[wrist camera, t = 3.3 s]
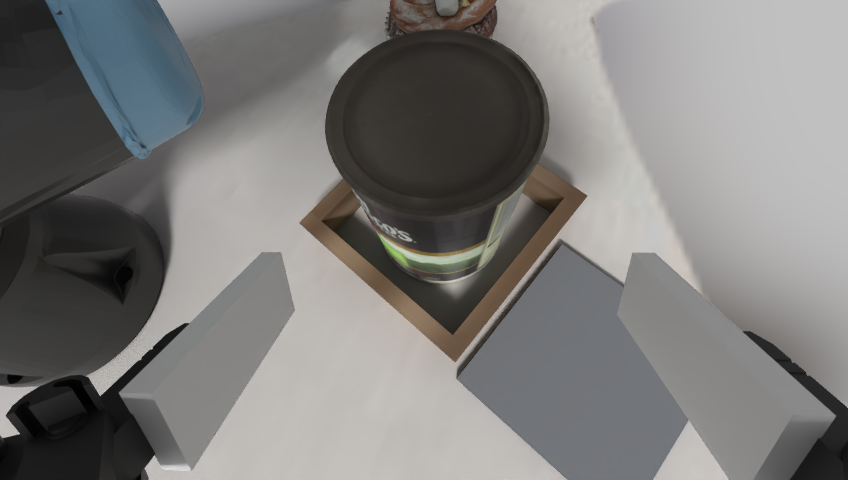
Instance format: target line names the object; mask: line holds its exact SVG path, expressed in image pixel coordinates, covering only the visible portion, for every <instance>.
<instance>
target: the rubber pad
mask: <svg viewBox="0 0 848 480" xmlns="http://www.w3.org/2000/svg"><path fill="white" fill-rule="evenodd" d="M623 289H624V287H622V286H621V285H620V284H618V283H617V282H615V281H614V280H613V279H611V278H610V277H608V276H607V275H605V274H604V273H603V272H601V271H600V270H598V269H597V268H596V267H594V266H593V265H591V264H590V263H588V262H587V261H586V260H584V259H583V258H581V257H580V256H579V255H577V254H576V253H574V252H573V251H571V250H570V249H569V248H567V247H566V246H564V245H563V244H562V245H561V246H560V247H559V248H558V250H557V251H556V252H555V253H554V255H553V256H552V257H551V259H550V260H549V261H548V262H547V264H546V265H545V266H544V267H543V269H542V270H541V271H540V273H539V274H538V275H537V276H536V278H535V279H534V280H533V281H532V283H531V284H530V285H529V287H528V288H527V289H526V290H525V292H524V293H523V294H522V296H521V297H520V298H519V299H518V301H517V302H516V303H515V304H514V306H513V307H512V308H511V310H510V311H509V312H508V313H507V315H506V316H505V317H504V318H503V320H502V321H501V322H500V324H499V325H498V326H497V327H496V329H495V330H494V331H493V332H492V334H491V335H490V336H489V338H488V339H487V340H486V341H485V343H484V344H483V345H482V347H481V348H480V349H479V350H478V352H477V353H476V354H475V355H474V357H473V358H472V359H471V361H470V362H469V363H468V364H467V366H466V367H465V368H464V369H463V371H462V372H461V373H460V375H459V376H458V377H457V378H456V379H457V380H458V381H459V382H460V383H462V384H463V385H464V386H465V387H466V388H467V389H468V390H469V391H470V392H472V393H473V394H474V395H475V396H476V397H477V398H478V399H479V400H480V401H481V402H483V403H484V404H485V405H486V406H487V407H488V408H489V409H490V410H491V411H492V412H494V413H495V414H496V415H497V416H498V417H499V418H500V419H501V420H502V421H503V422H505V423H506V424H507V425H508V426H509V427H510V428H511V429H512V430H513V431H515V432H516V433H517V434H518V435H519V436H520V437H521V438H522V439H523V440H524V441H526V442H527V443H528V444H529V445H530V446H531V447H532V448H533V449H534V450H535V451H537V452H538V453H539V454H540V455H541V456H542V457H543V458H544V459H545V460H547V461H548V462H549V463H550V464H551V465H552V466H553V467H554V468H555V469H556V470H558V471H559V472H560V473H561V474H562V475H563V476H564V477H565V478H566V479H567V480H653V478H654V477H655V475H656V473H657V472H658V470H659V468H660V467H661V465H662V464H663V462H664V460H665V459H666V457H667V455H668V454H669V452H670V450H671V449H672V447H673V445H674V444H675V442H676V440H677V439H678V437H679V435H680V434H681V432H682V430H683V429H684V427H685V425H686V424H687V422H688V418H687V417H686V415H685V414H684V412H683V411H682V409H681V408H680V406H679V405H678V404H677V402H676V401H675V399H674V398H673V396H672V395H671V393H670V392H669V390H668V389H667V387H666V386H665V384H664V383H663V381H662V380H661V379H660V377H659V376H658V374H657V373H656V371H655V370H654V368H653V367H652V365H651V364H650V362H649V361H648V359H647V358H646V356H645V355H644V354H643V352H642V351H641V349H640V348H639V346H638V345H637V343H636V342H635V340H634V339H633V337H632V336H631V334H630V333H629V331H628V330H627V329H626V327H625V326H624V324H623V323H622V321H621V320H620V318H619V317H618V315H617V312H618V308H619V304H620V300H621V296H622V292H623Z"/></svg>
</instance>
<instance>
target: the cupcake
mask: <svg viewBox="0 0 848 480" xmlns="http://www.w3.org/2000/svg"><path fill="white" fill-rule="evenodd" d="M496 1H497V0H391V2H390V7H389V9H390V13H389V12H387V14H388V17H386V20H387V22H385V25H386V27H387V28H386V29H385V32H386V37H387V40H390V39H392V38H394V37H398V36H401V35H404V34H407V33H411V32H416V31H423V30H432V29H435V30H436V29H452V30H461V31H467V32H471V33H476V34H479V35H482V36H485V37H488V38H490V39H491V38H492V35H493V31H494V28H495V26H496V23H497V10H496V6H495V3H496Z"/></svg>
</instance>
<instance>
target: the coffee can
mask: <svg viewBox="0 0 848 480" xmlns="http://www.w3.org/2000/svg"><path fill="white" fill-rule="evenodd" d="M548 130H549V110H548V104H547V99H546V96H545V93H544V90H543V88H542V86H541V83H540V81H539V80H538V78H537V77H536V75H535V73H534V72H533V71H532V70H531V68H530V67H529V66H528V64H527V63H526V62H525V61H524V60H523V59H522V58H521V57H520V56H519V55H517V54H516V53H515V52H514V51H512V50H511V49H509V48H507V47H506V46H504V45H503V44H501V43H499V42H497V41H495V40H492V39H490V38H488V37H485V36H482V35H479V34H476V33H471V32H467V31H461V30H452V29H436V30H435V29H432V30H423V31H416V32H411V33H407V34H404V35H401V36H398V37H394V38H392V39H390V40H388V41H385V42H383V43H381V44H380V45H378V46H376V47H374V48H373V49H371V50H370V51H368V52H367V53H366V54H364V55H363V56H362V57H360V58H359V59H358V60H357V61H356V62H355V63H354V64H353V65H351V66H350V67H349V68H348V70H347V71H346V72H345V73H344V75H343V76H342V77H341V79H340V80H339V82H338V84H337V85H336V87H335V90H334V92H333V94H332V96H331V99H330V102H329V105H328V109H327V114H326V122H325V134H326V141H327V145H328V149H329V152H330V155H331V157H332V159H333V162H334V164H335V166H336V167H337V169H338V171H339V172H340V174H341V175H342V177H343V178H344V180H345V181H346V182H347V184H348V185H349V186H350V187H351V188H352V190H353V192H354V193H355V195H356V197H357V198H358V200H359V202H360V204H361V206H362V207H363V209H364V211H365V213H366V215H367V216H368V218H369V220H370V222H371V223H372V225H373V227H374V229H375V230H376V232H377V234H378V236H379V237H380V239H381V241H382V243H383V245H384V248H385V250H386V252H387V254H388V256H389V257H390V259H391V260H392V261H393V263H394V264H395V265H396V266H397V267H398V268H400V269H401V270H402V271H403V272H405V273H406V274H408V275H410V276H412V277H413V278H416V279H418V280H421V281H424V282H428V283H436V284H447V283H453V282H458V281H461V280H464V279H466V278H468V277H471V276H473V275H474V274H476V273H478V272H479V271H480V270H482V269H483V268H484V267H485V266H486V265H487V264H488V263H489V262H490V260H491V259H492V258H493V256H494V255H495V253H496V251H497V249H498V247H499V244H500V241H501V238H502V235H503V233H504V231H505V228H506V226H507V224H508V222H509V220H510V218H511V215H512V213H513V210H514V208H515V206H516V204H517V201H518V199H519V197H520V194H521V192H522V190H523V188H524V185H525V183H526V181H527V179H528V177H529V176H530V174H531V173H532V171H533V169H534V168H535V166H536V164H537V163H538V161H539V159H540V157H541V154H542V152H543V150H544V147H545V145H546V141H547V136H548Z"/></svg>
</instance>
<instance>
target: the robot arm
mask: <svg viewBox="0 0 848 480" xmlns="http://www.w3.org/2000/svg"><path fill="white" fill-rule="evenodd" d="M203 107H204V95H203V91H202V87H201V84H200V81H199V78H198V76H197V74H196V72H195V69H194V67H193V65H192V63H191V61H190V59H189V57H188V55H187V53H186V51H185V50H184V48H183V46H182V44H181V42H180V40H179V38H178V36H177V34H176V33H175V31H174V29H173V27H172V25H171V24H170V22H169V20H168V18H167V17H166V15H165V13H164V11H163V10H162V8H161V6H160V4H159V3H158V1H157V0H0V386H5V387H33V386H40V387H38V388H36V389H35V390H33V391H31V392H30V393H28V394H27V395H25V396H24V397H22V398H21V399H20V400H19V401H18V402H17V403H15V404H14V405H13V406H12V407H11V409H10V410H9V412H8V413H7V415H6V417H7V418H8V419H9V420H10V422H11V423H12V424H13V425H14V427H15V428H16V429H17V430H18V432H19V433H20V434H19V435H15V436H11V437H6V438H2V437H1V436H0V480H148V475H147V473H146V471H145V469H144V468H145V467H146V465H147V464H148V463H149V462H150V460H151V459H152V458H153V456H154V455H155V456H156V458H157V460H158V462H159V463H160V465H161V467H162V469H163V470H181V471H192V470H193V468H194V466H195V465H196V463H197V462H198V460H199V459H200V457H201V456H202V454H203V452H204V451H205V449H206V448H207V446H208V445H209V443H210V441H211V440H212V438H213V437H214V435H215V434H216V432H217V431H218V429H219V427H220V426H221V424H222V423H223V421H224V420H225V418H226V417H227V415H228V413H229V412H230V410H231V409H232V407H233V406H234V404H235V403H236V401H237V399H238V398H239V396H240V395H241V393H242V392H243V390H244V389H245V387H246V385H247V384H248V382H249V381H250V379H251V378H252V376H253V374H254V373H255V371H256V370H257V368H258V367H259V365H260V364H261V362H262V360H263V359H264V357H265V356H266V354H267V353H268V351H269V350H270V348H271V346H272V345H273V343H274V342H275V340H276V339H277V337H278V336H279V334H280V332H281V331H282V329H283V328H284V326H285V325H286V323H287V322H288V320H289V318H290V317H291V315H292V314H293V312H294V311H295V309H294V305H293V301H292V296H291V292H290V288H289V284H288V280H287V275H286V271H285V267H284V263H283V259H282V254H281V252H262V253H261V254H260V255H259V256H258V257H257V258H256V259H255V260H254V261H253V262H252V263H251V264H250V265H249V266H248V267H247V268H246V269H245V270H244V271H243V272H242V273H241V274H240V275H239V276H238V277H237V278H236V279H235V280H233V281H232V282H231V283H230V284H229V285H228V286H227V287H226V288H225V289H224V290H223V291H222V292H221V293H220V294H219V295H218V296H217V297H216V298H215V299H214V300H213V301H212V302H211V303H210V304H209V305H208V306H207V307H206V308H205V309H204V310H203V311H202V312H201V313H200V314H199V315H198V316H197V317H196V318H195V319H194V320H193V321H192V322H191V323H184V324H183V325H181V326H179V327H178V328H176V329H174V330H173V331H171V332H169V333H168V334H166V335H165V336H164V337H163V338H162V339H161V340H160V341H159V342H158V343H157V344H156V345H155V346H154V347H153V349H152V350H149V351H148V352H147V353H146V354H145V355H144V356H143V357H142V360H139V361H138V362H136V363H135V364H134V365H133V366H132V367H131V368H130V369H129V370H128V371H127V372H126V373H125V374H124V375H123V376H122V377H120V378H119V379H118V380H117V381H116V382H115V383H114V384H113V385H112V386H111V387H110V388H109V389H108V390H107V391H106V392H104V393H103V394H102V395H101V396H99V394H98V392H97V391H96V389H95V387H94V386H93V384H92V383H91V381H90V379H89V378H88V377H86V375H88V374H90V373H92V372H94V371H96V370H98V369H99V368H101V367H102V366H104V365H105V364H107V363H108V362H109V361H111V360H112V359H113V358H114V357H116V356H117V355H118V354H119V353H120V352H121V351H122V350H123V349H124V348H125V347H126V346H127V345H128V344H129V343H130V342H131V341H132V340H133V339H134V338H135V336H136V335H137V334H138V332H139V331H140V330H141V328H142V327H143V325H144V324H145V322H146V321H147V319H148V317H149V315H150V313H151V312H152V309H153V307H154V305H155V303H156V300H157V297H158V294H159V291H160V287H161V282H162V276H163V256H162V250H161V246H160V243H159V240H158V238H157V236H156V234H155V232H154V231H153V229H152V228H151V227H150V225H149V224H148V223H147V222H146V221H145V220H144V219H142V218H141V217H140V216H138V215H137V214H135V213H133V212H131V211H129V210H126V209H124V208H122V207H120V206H118V205H116V204H113V203H111V202H108V201H105V200H102V199H98V198H94V197H87V196H79V195H72V194H68V193H70V192H72V191H73V190H75V189H77V188H79V187H81V186H83V185H85V184H87V183H89V182H91V181H93V180H95V179H96V178H98V177H100V176H102V175H104V174H106V173H108V172H110V171H112V170H114V169H116V168H118V167H119V166H121V165H123V164H125V163H127V162H129V161H131V160H133V159H135V158H139V159H145V158H147V157H148V156H150V155H151V152H152V149H154V148H156V147H157V146H159V145H161V144H163V143H164V142H166V141H168V140H169V139H171V138H173V137H175V136H176V135H178V134H180V133H181V132H183V131H185V130H187V129H188V128H190V127H191V126H193V125H194V124H195V123H196V122H197V121H198V120H199V118H200V116H201V114H202V112H203ZM617 315H618V317H619V318H620V320H621V321H622V323H623V324H624V326H625V327H626V329H627V330H628V331H629V333H630V334H631V336H632V337H633V339H634V340H635V342H636V343H637V345H638V346H639V348H640V349H641V351H642V352H643V354H644V355H645V356H646V358H647V359H648V361H649V362H650V364H651V365H652V367H653V368H654V370H655V371H656V373H657V374H658V376H659V377H660V379H661V380H662V381H663V383H664V384H665V386H666V387H667V389H668V390H669V392H670V393H671V395H672V396H673V398H674V399H675V401H676V402H677V404H678V405H679V406H680V408H681V409H682V411H683V412H684V414H685V415H686V417H687V418H688V420H689V421H690V423H691V424H692V426H693V427H694V428H695V430H696V431H697V433H698V434H699V436H700V437H701V439H702V440H703V442H704V443H705V445H706V446H707V448H708V449H709V451H710V452H711V453H712V455H713V456H714V458H715V459H716V461H717V462H718V464H719V465H720V467H721V468H722V470H723V471H724V473H725V474H726V476H727V477H728V478H729V480H848V408H847V407H846V406H845V405H844V404H843V403H841V402H840V401H839V400H838V399H837V398H836V397H834V396H833V395H832V394H831V393H830V392H828V391H827V390H826V389H825V388H824V387H823V386H821V385H820V384H819V383H818V382H817V381H816V380H814V379H813V378H812V377H811V376H807V375H806V372H805V371H804V370H803V369H802V368H800V367H799V366H798V365H797V364H795V363H792V362H791V359H790V358H789V357H787V356H786V355H785V354H784V353H783V352H782V351H780V350H779V349H778V348H777V347H776V346H774V345H773V344H772V343H770V342H768V341H766V340H765V339H763V338H761V337H759V336H757V335H756V334H754V333H752V332H750V331H749V332H748V331H741V330H740V329H739V328H738V327H737V326H736V325H734V324H733V323H732V322H731V321H730V320H729V319H728V318H727V317H725V316H724V315H723V314H722V313H721V312H720V311H719V310H718V309H717V308H716V307H714V306H713V305H712V304H711V303H710V302H709V301H708V300H707V299H706V298H704V297H703V296H702V295H701V294H700V293H699V292H698V291H697V290H696V289H694V288H693V287H692V286H691V285H690V284H689V283H688V282H687V281H686V280H684V279H683V278H682V277H681V276H680V275H679V274H678V273H677V272H675V271H674V270H673V269H672V268H671V267H670V266H669V265H668V264H667V263H665V262H664V261H663V260H662V259H661V258H660V257H659V256H658V255H657V254H655V253H632V257H631V261H630V265H629V269H628V273H627V277H626V281H625V285H624V289H623V292H622V296H621V300H620V304H619V308H618V312H617Z"/></svg>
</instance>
